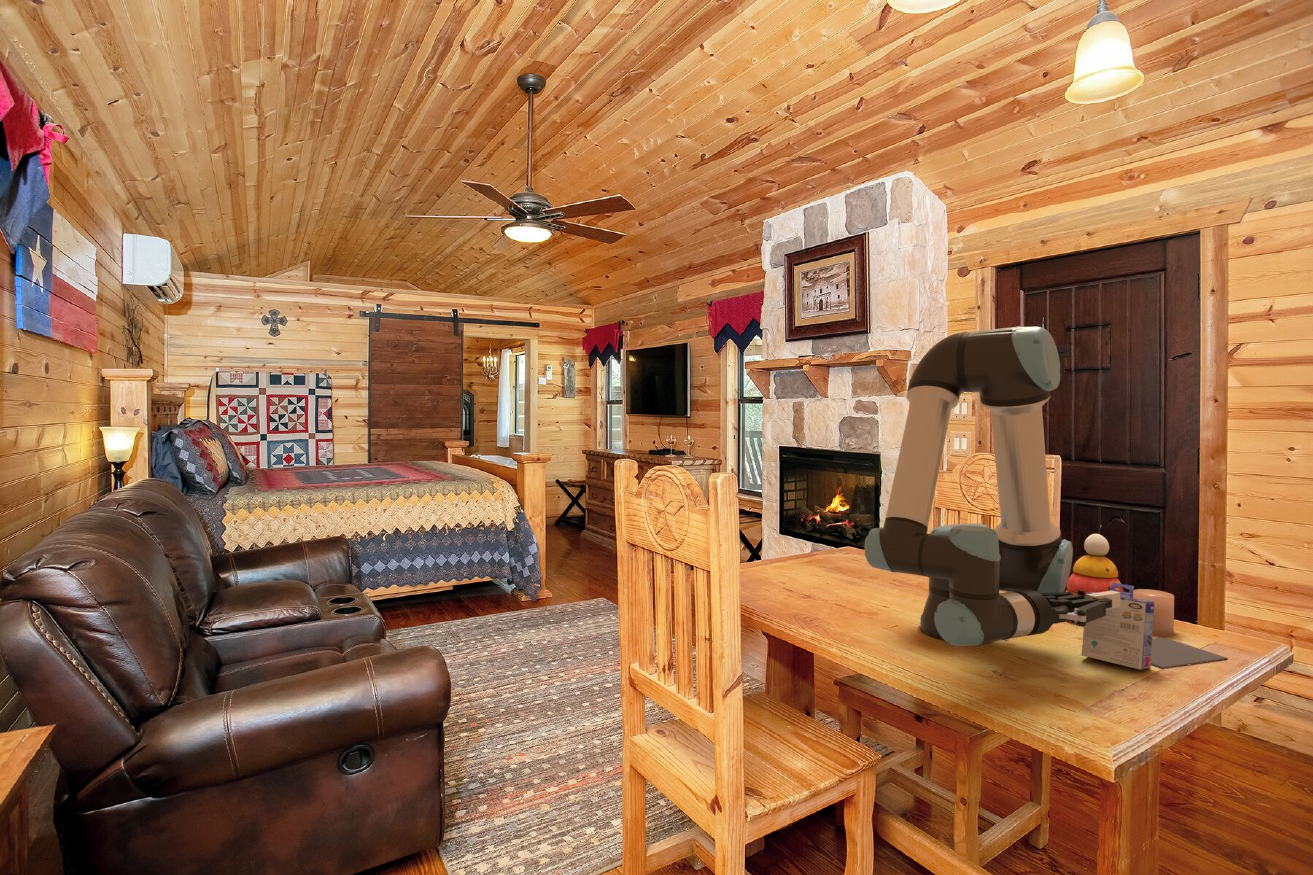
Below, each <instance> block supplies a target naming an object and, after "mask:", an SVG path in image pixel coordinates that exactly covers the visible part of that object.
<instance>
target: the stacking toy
mask: <svg viewBox="0 0 1313 875" xmlns="http://www.w3.org/2000/svg"><path fill="white" fill-rule="evenodd" d="M1083 547H1084V550H1085V551H1086V553H1087V554H1086V555H1083V556H1081V557H1079V558H1078V559H1077V560H1076V561H1075V563H1074V565H1073V568H1072V571H1073V573H1071V574H1070V575H1069V578H1068V582H1067V585H1066V590H1065V592H1072V593H1073V595H1075V594H1078V590H1084V591H1085V596H1086V593H1088V592H1095V593H1099V592H1106V591H1110V588H1111V586H1112V583H1118V584H1122V583H1121V581H1120V580H1119V578H1118V577H1119V571H1118V569H1117V566H1116V565H1115V564H1114V562H1113V561H1112V560H1110V559H1109V558H1108V557H1106V555H1107V554H1108V553H1109V550H1110V544H1109V541H1108V540H1107V538H1106V537H1104V536H1103V535H1101V534H1099V533H1092V534H1090V535H1088V537H1086V539H1085V540H1084V543H1083ZM1114 590H1117V591H1123V592H1124V588H1123V587H1116V588H1114Z"/></svg>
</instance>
